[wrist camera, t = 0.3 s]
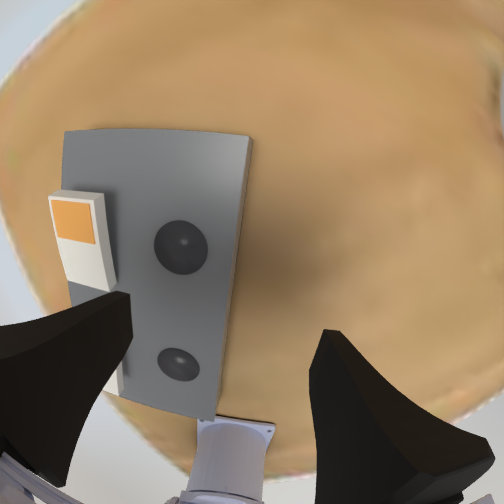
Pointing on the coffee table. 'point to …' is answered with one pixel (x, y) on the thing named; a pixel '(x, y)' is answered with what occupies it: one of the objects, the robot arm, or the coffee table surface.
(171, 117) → the coffee table surface
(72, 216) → the rocker
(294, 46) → the coffee table surface
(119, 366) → the rocker
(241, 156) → the grey switch panel
